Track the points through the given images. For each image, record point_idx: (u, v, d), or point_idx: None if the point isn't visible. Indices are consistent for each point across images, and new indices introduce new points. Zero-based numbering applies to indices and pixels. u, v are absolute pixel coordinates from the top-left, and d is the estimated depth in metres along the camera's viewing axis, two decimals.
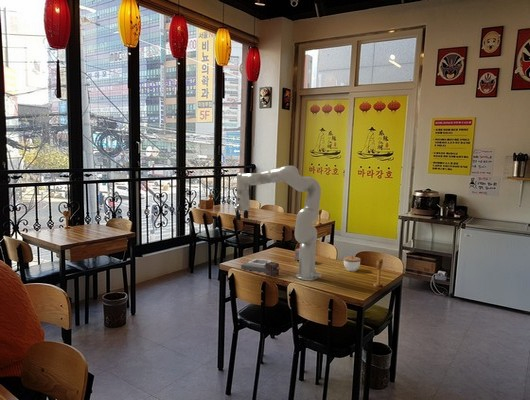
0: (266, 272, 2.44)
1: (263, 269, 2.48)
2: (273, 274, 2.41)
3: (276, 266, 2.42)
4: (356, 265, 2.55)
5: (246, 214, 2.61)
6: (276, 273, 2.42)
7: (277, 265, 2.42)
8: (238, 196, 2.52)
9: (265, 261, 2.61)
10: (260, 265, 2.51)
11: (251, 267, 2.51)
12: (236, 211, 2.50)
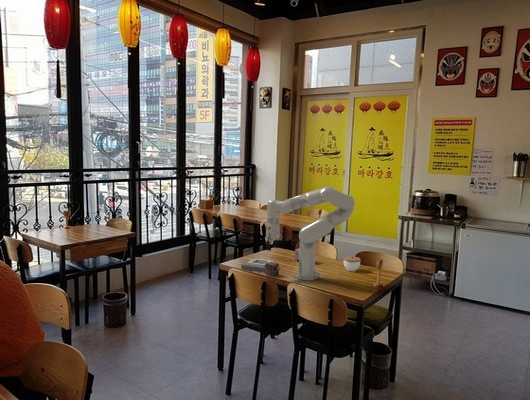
0: (266, 272, 2.44)
1: (263, 269, 2.48)
2: (273, 274, 2.41)
3: (276, 266, 2.42)
4: (356, 265, 2.55)
5: (276, 243, 2.46)
6: (276, 273, 2.42)
7: (277, 265, 2.42)
8: (269, 225, 2.37)
9: (265, 261, 2.61)
10: (260, 265, 2.51)
11: (251, 267, 2.51)
12: (267, 241, 2.35)
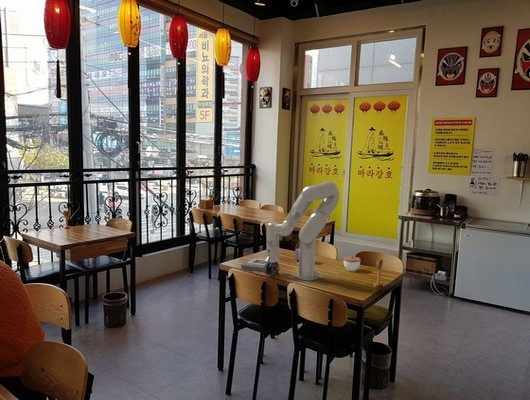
0: None
1: (263, 269, 2.48)
2: (273, 274, 2.41)
3: (276, 266, 2.42)
4: (356, 265, 2.55)
5: None
6: (276, 273, 2.42)
7: (277, 265, 2.42)
8: (268, 247, 2.39)
9: None
10: (260, 265, 2.51)
11: (251, 267, 2.51)
12: (267, 264, 2.37)
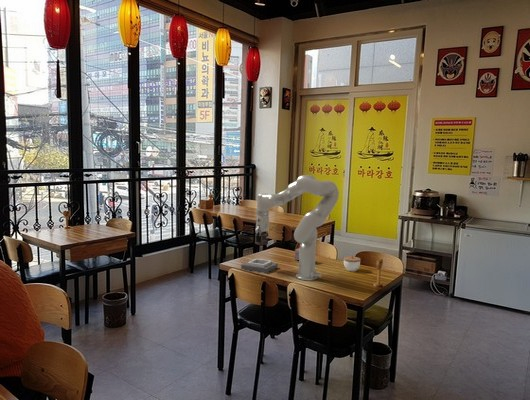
0: None
1: (263, 269, 2.48)
2: (262, 243, 2.51)
3: (265, 235, 2.52)
4: (356, 265, 2.55)
5: None
6: (265, 242, 2.53)
7: (266, 234, 2.53)
8: (258, 217, 2.49)
9: (265, 261, 2.61)
10: (260, 265, 2.51)
11: (251, 267, 2.51)
12: (257, 233, 2.48)
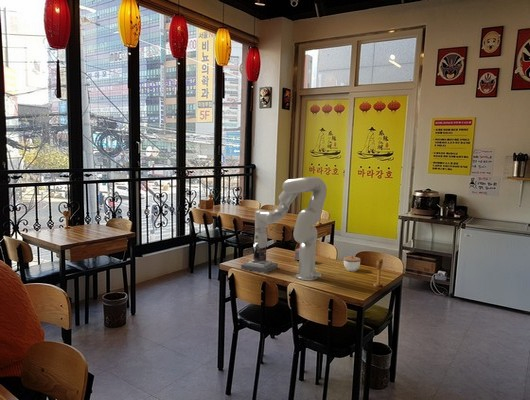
0: None
1: (263, 269, 2.48)
2: (261, 259, 2.54)
3: (263, 251, 2.55)
4: (356, 265, 2.55)
5: None
6: (263, 258, 2.56)
7: (264, 251, 2.56)
8: (256, 234, 2.52)
9: (265, 261, 2.61)
10: (260, 265, 2.51)
11: (251, 267, 2.51)
12: (255, 250, 2.51)
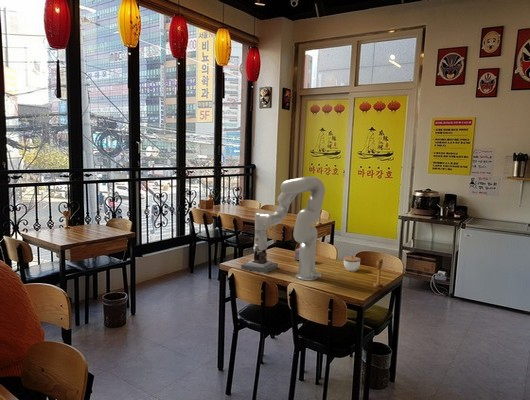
0: (255, 261, 2.57)
1: (263, 269, 2.48)
2: (261, 263, 2.55)
3: (264, 255, 2.55)
4: (356, 265, 2.55)
5: None
6: (264, 262, 2.56)
7: (265, 254, 2.56)
8: (256, 236, 2.52)
9: None
10: (260, 265, 2.51)
11: (251, 267, 2.51)
12: (254, 252, 2.50)
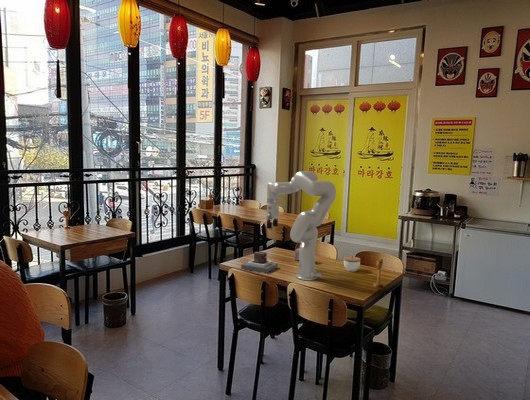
0: (255, 261, 2.57)
1: (263, 269, 2.48)
2: (261, 263, 2.55)
3: (264, 255, 2.55)
4: (356, 265, 2.55)
5: (275, 222, 2.66)
6: (264, 262, 2.56)
7: (265, 254, 2.56)
8: (269, 205, 2.57)
9: None
10: (260, 265, 2.51)
11: (251, 267, 2.51)
12: (268, 220, 2.55)
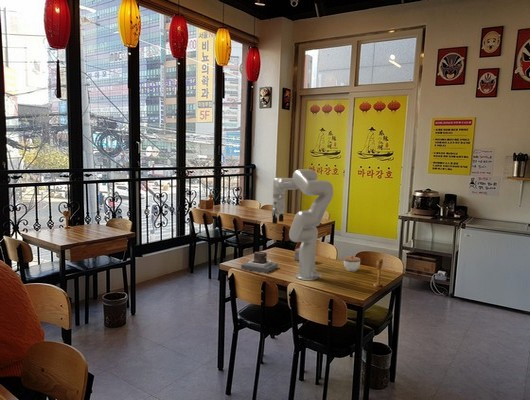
0: (255, 261, 2.57)
1: (263, 269, 2.48)
2: (261, 263, 2.55)
3: (264, 255, 2.55)
4: (356, 265, 2.55)
5: (281, 217, 2.70)
6: (264, 262, 2.56)
7: (265, 254, 2.56)
8: (275, 200, 2.61)
9: None
10: (260, 265, 2.51)
11: (251, 267, 2.51)
12: (273, 215, 2.59)
